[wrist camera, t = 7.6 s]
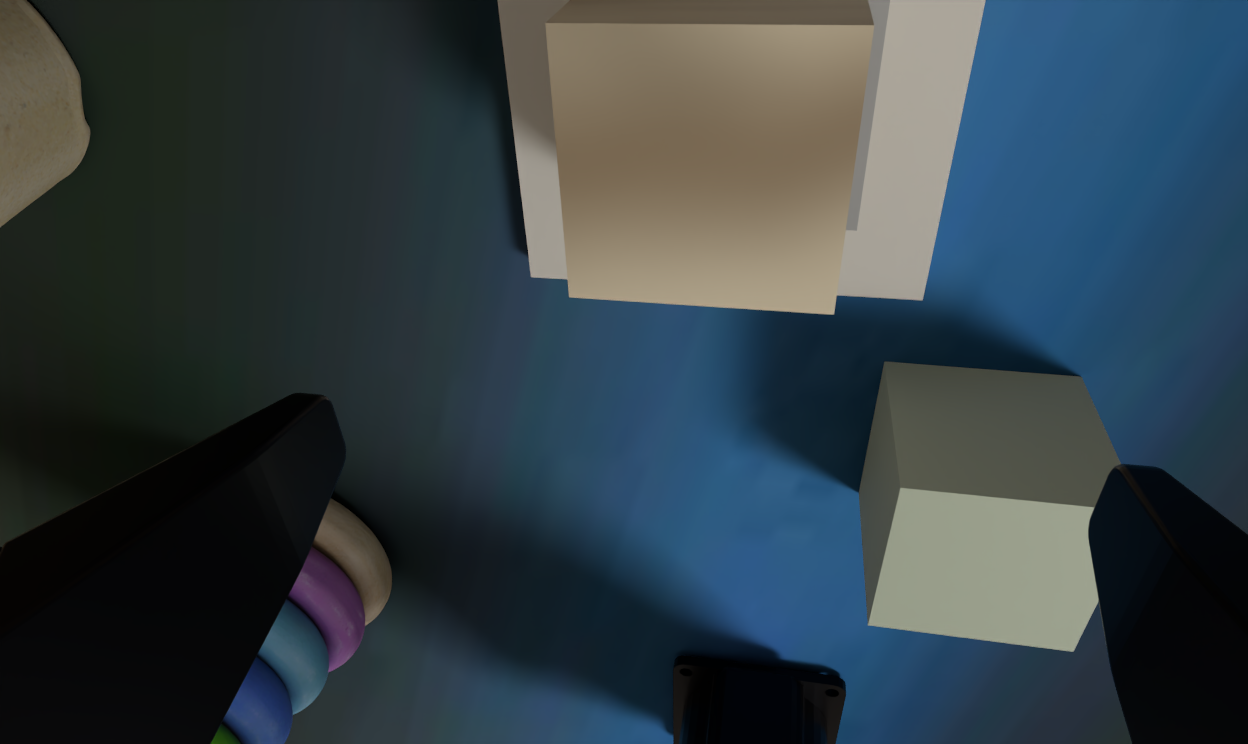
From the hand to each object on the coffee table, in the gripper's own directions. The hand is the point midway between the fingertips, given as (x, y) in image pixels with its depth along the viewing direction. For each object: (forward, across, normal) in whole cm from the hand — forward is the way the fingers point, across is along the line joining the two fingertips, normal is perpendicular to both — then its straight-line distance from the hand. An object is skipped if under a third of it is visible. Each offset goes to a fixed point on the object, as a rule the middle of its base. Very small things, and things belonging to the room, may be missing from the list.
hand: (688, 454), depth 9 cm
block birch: (+11, 0, -1) cm, 11 cm away
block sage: (+12, -6, +9) cm, 16 cm away
